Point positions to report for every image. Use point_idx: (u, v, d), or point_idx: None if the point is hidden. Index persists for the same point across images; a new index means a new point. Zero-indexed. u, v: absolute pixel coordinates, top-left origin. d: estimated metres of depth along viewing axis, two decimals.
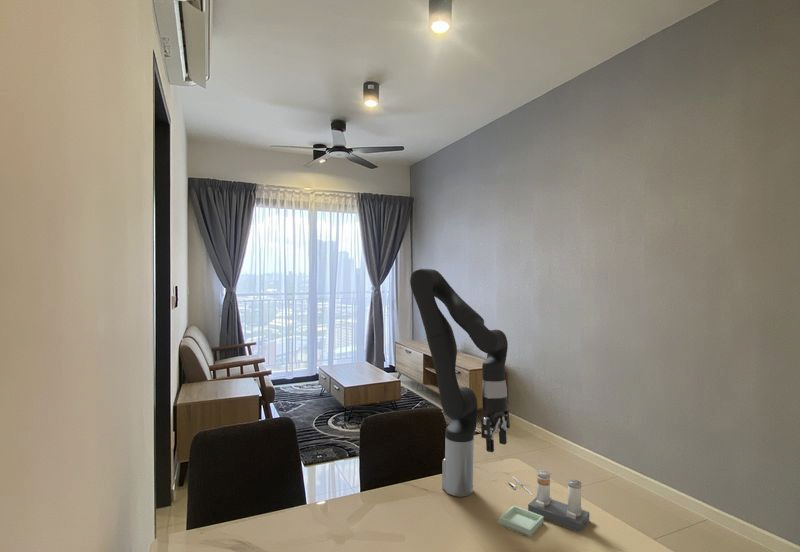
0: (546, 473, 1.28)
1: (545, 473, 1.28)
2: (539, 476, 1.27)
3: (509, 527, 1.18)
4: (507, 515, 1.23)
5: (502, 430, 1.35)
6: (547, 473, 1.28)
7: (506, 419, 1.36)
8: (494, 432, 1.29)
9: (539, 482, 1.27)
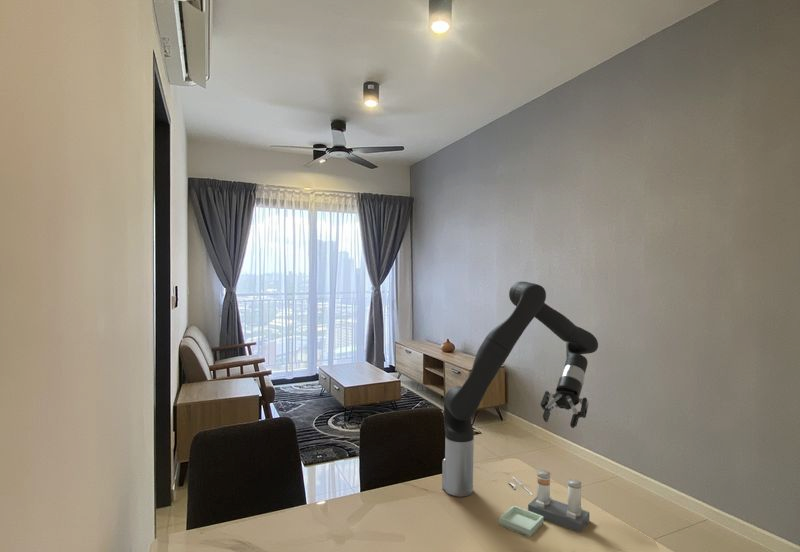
0: (546, 473, 1.28)
1: (545, 473, 1.28)
2: (539, 476, 1.27)
3: (509, 527, 1.18)
4: (507, 515, 1.23)
5: (549, 409, 1.42)
6: (547, 473, 1.28)
7: (547, 402, 1.45)
8: None
9: (539, 482, 1.27)
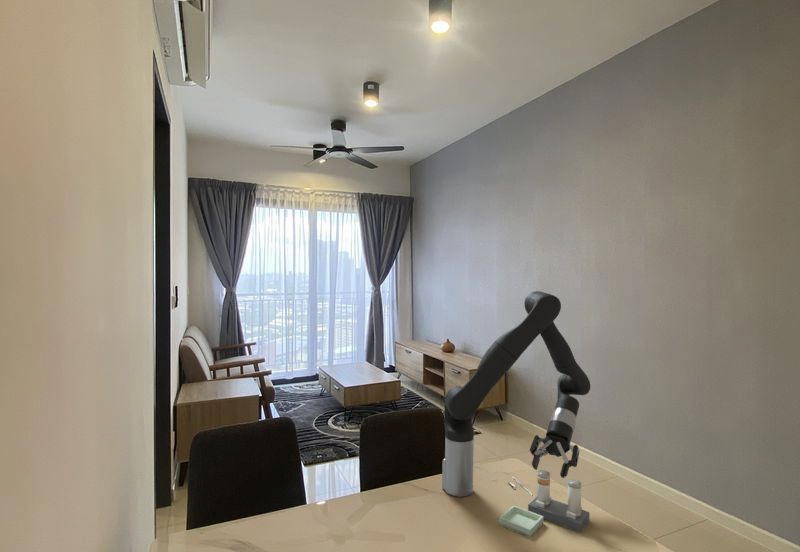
0: (546, 473, 1.28)
1: (545, 473, 1.28)
2: (539, 476, 1.27)
3: (509, 527, 1.18)
4: (507, 515, 1.23)
5: (539, 456, 1.36)
6: (547, 473, 1.28)
7: (537, 447, 1.39)
8: None
9: (539, 482, 1.27)
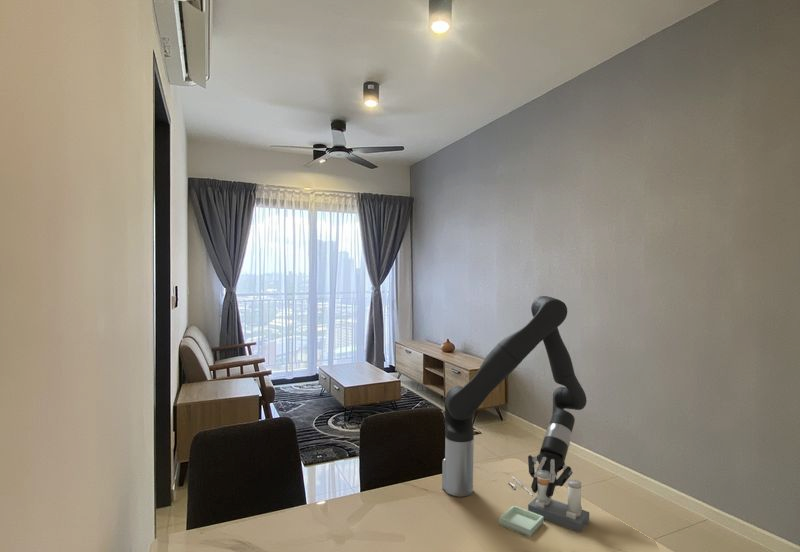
0: (546, 473, 1.28)
1: (545, 473, 1.28)
2: (539, 476, 1.27)
3: (509, 527, 1.18)
4: (507, 515, 1.23)
5: None
6: (547, 473, 1.28)
7: None
8: None
9: (539, 482, 1.27)
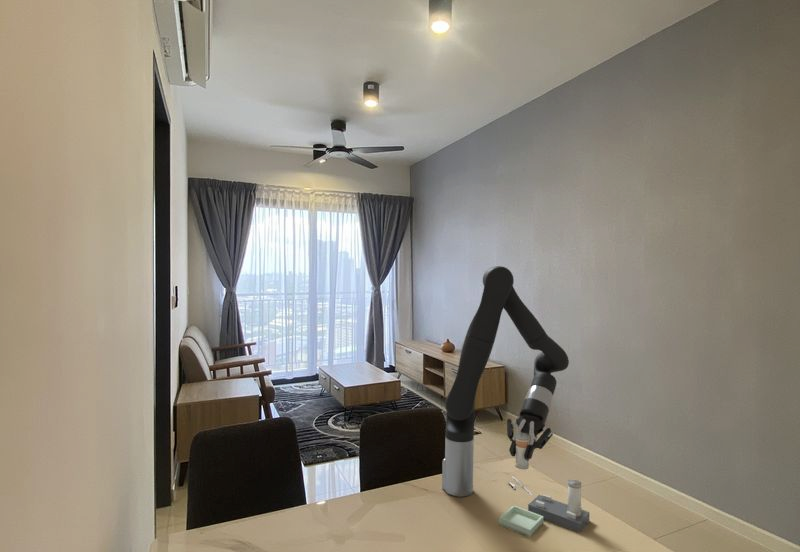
0: (524, 435, 1.21)
1: (524, 435, 1.21)
2: (517, 438, 1.21)
3: (509, 527, 1.18)
4: (507, 515, 1.23)
5: None
6: (526, 435, 1.21)
7: (513, 431, 1.27)
8: (533, 441, 1.23)
9: (517, 444, 1.21)
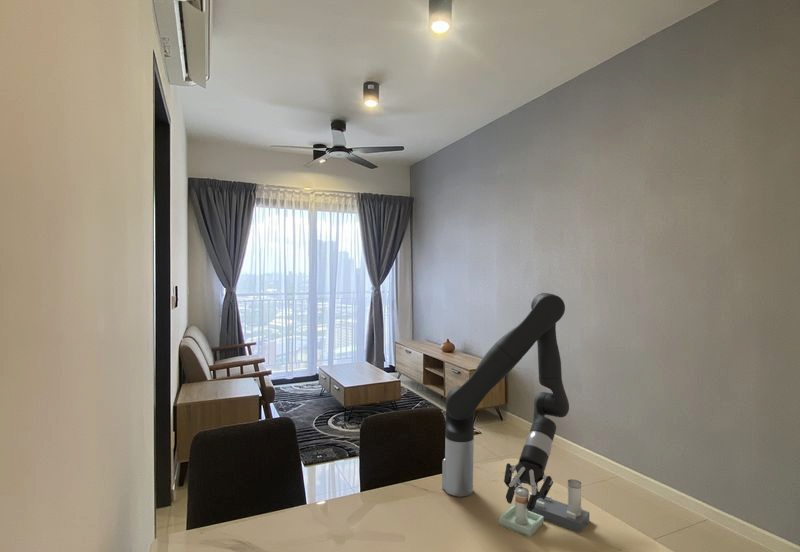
0: (524, 490, 1.21)
1: (523, 490, 1.20)
2: (517, 494, 1.20)
3: (509, 527, 1.18)
4: (507, 515, 1.23)
5: (514, 488, 1.24)
6: (526, 490, 1.20)
7: (511, 476, 1.28)
8: None
9: (517, 500, 1.20)
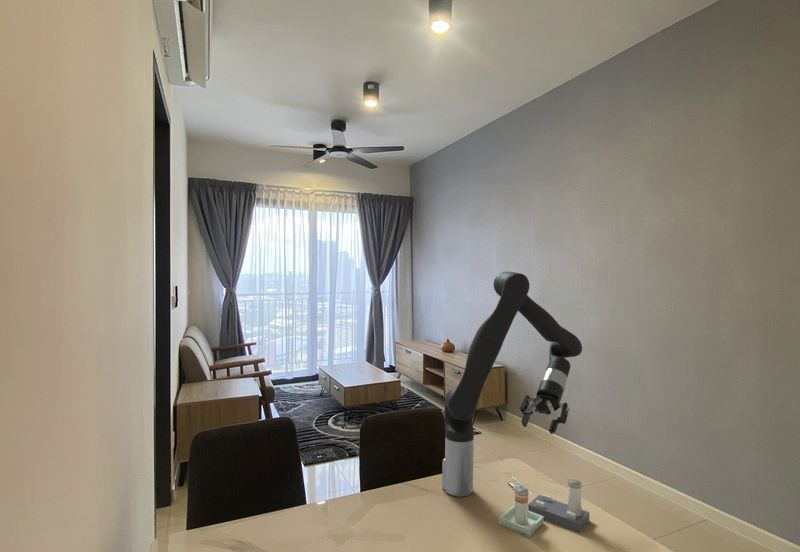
0: (524, 490, 1.21)
1: (523, 490, 1.21)
2: (516, 493, 1.20)
3: (509, 527, 1.18)
4: (507, 515, 1.23)
5: (528, 414, 1.37)
6: (525, 490, 1.21)
7: (527, 406, 1.40)
8: None
9: (516, 500, 1.20)
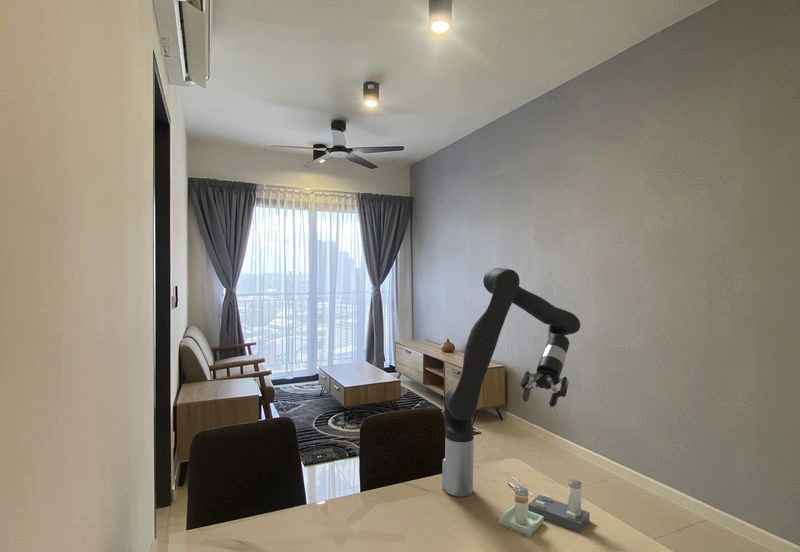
0: (524, 490, 1.21)
1: (523, 490, 1.21)
2: (516, 493, 1.20)
3: (509, 527, 1.18)
4: (507, 515, 1.23)
5: (529, 389, 1.40)
6: (525, 490, 1.21)
7: (528, 382, 1.43)
8: None
9: (516, 500, 1.20)
